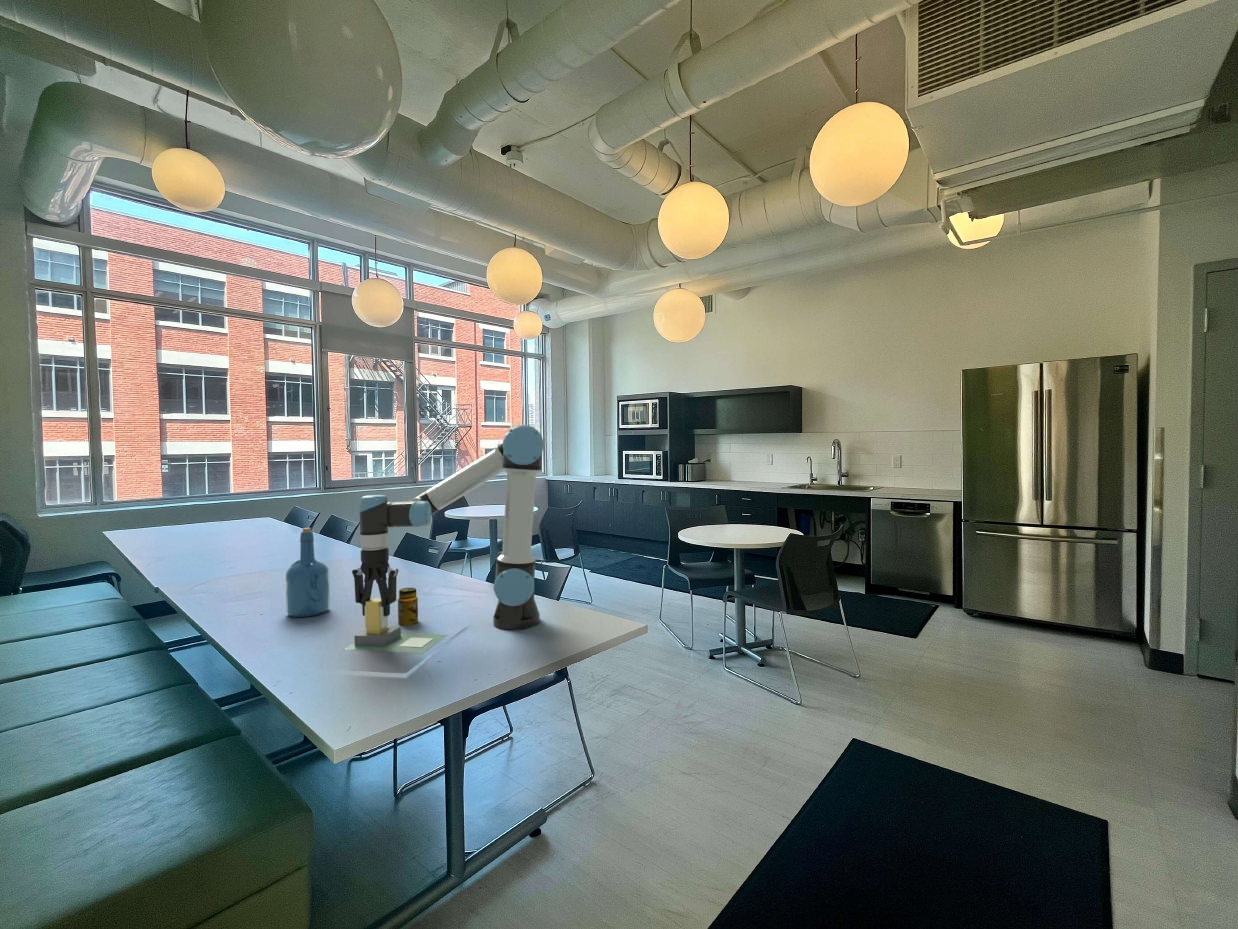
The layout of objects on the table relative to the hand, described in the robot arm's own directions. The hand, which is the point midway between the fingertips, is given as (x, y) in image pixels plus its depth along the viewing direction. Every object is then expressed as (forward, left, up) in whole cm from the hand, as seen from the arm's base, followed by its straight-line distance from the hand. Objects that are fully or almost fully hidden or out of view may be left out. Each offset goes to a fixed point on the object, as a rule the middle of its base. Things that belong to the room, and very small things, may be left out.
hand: (376, 626), depth 156 cm
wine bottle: (+43, -25, -6) cm, 50 cm away
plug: (0, 0, -4) cm, 4 cm away
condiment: (+1, -16, -6) cm, 17 cm away
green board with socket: (-6, 0, -5) cm, 8 cm away
